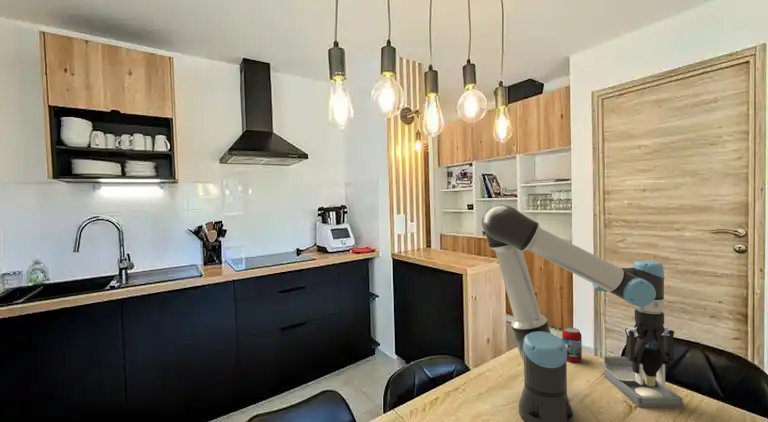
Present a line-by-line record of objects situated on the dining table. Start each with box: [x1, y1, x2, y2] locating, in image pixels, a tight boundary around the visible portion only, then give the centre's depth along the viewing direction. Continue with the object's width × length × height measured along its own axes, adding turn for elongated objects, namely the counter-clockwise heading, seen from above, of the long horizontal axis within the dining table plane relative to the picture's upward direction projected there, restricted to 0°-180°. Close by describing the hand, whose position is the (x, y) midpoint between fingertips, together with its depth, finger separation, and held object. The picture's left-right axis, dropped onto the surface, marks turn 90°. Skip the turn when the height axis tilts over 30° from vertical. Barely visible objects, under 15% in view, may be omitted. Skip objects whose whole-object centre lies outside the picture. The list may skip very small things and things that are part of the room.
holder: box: [604, 369, 684, 409], centre depth 116 cm, size 13×18×3 cm
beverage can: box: [561, 326, 583, 363], centre depth 140 cm, size 7×7×12 cm
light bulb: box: [640, 346, 663, 386], centre depth 112 cm, size 7×7×12 cm
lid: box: [599, 355, 657, 381], centre depth 123 cm, size 13×12×3 cm
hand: (649, 382), depth 112 cm, fingers closed on light bulb, 6 cm apart
